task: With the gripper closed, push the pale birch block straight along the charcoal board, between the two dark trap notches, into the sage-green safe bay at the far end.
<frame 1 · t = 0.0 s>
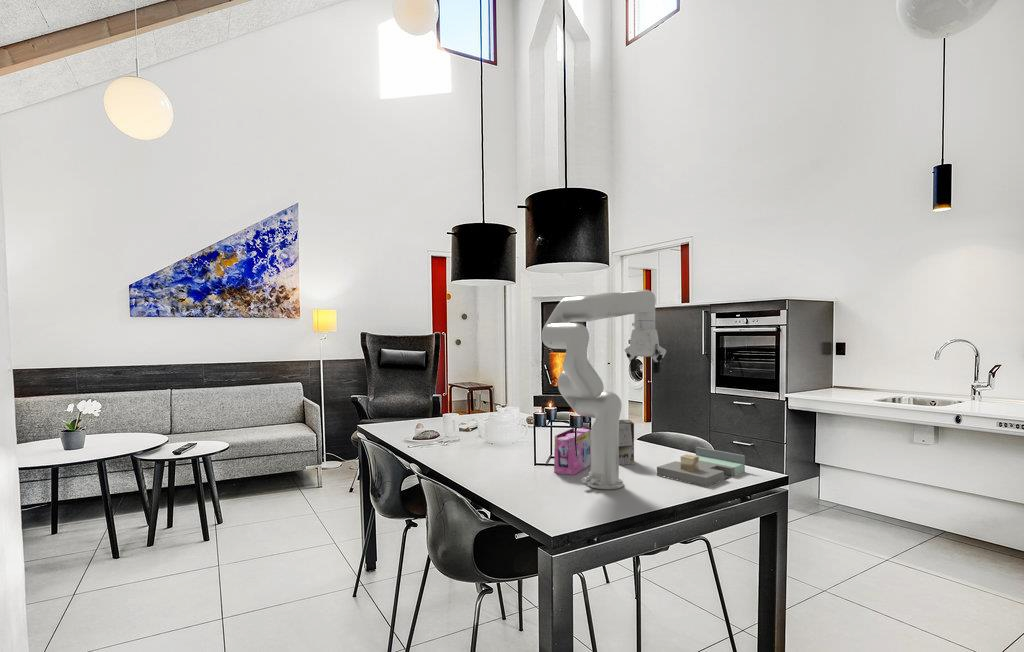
hand: (644, 372, 196), 37 cm above the table, tool pointing down, fingers open, 9 cm apart
gum box: (575, 467, 203), on the table
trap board: (701, 473, 193), on the table
block: (689, 469, 188), point 3 cm above the table, touching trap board
coffee box: (624, 462, 210), on the table
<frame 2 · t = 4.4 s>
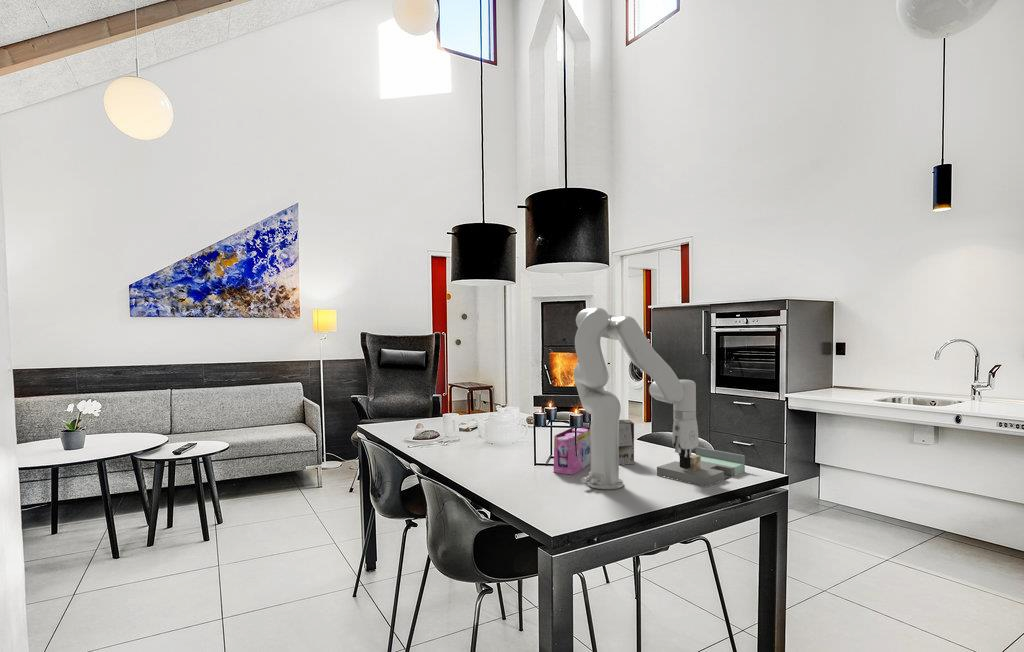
hand: (685, 467, 186), 4 cm above the table, tool pointing down, fingers closed
block: (691, 468, 189), point 3 cm above the table, touching gripper, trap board
everything else where it was.
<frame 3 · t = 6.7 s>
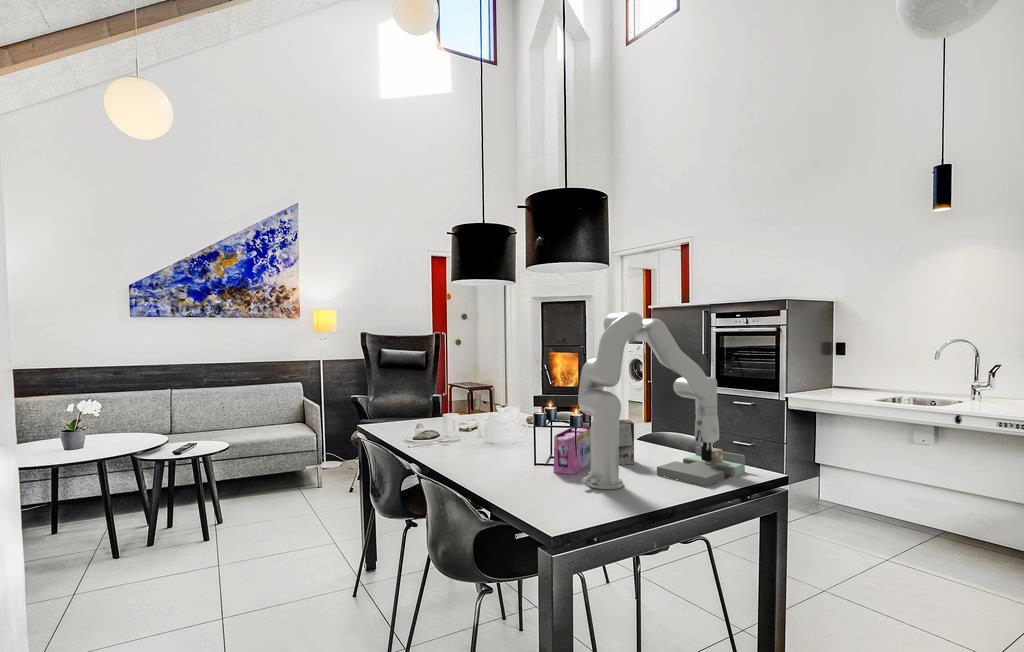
hand: (706, 460, 196), 4 cm above the table, tool pointing down, fingers closed
block: (713, 461, 199), point 3 cm above the table, touching gripper
everything else where it was.
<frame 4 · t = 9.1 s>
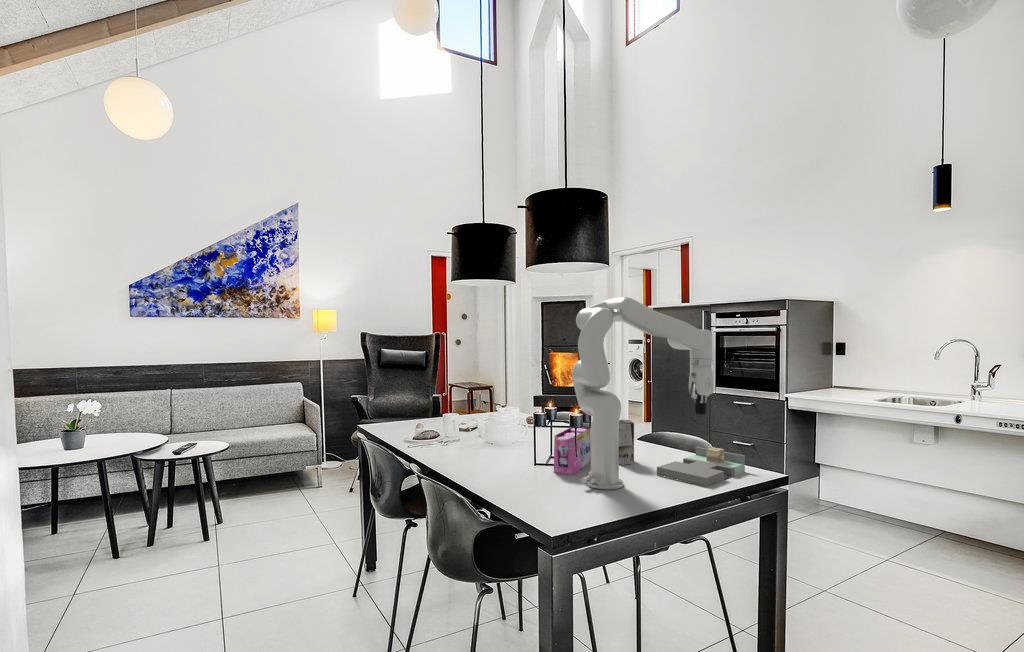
hand: (700, 413, 194), 22 cm above the table, tool pointing down, fingers closed
block: (715, 461, 199), point 3 cm above the table, touching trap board
everything else where it was.
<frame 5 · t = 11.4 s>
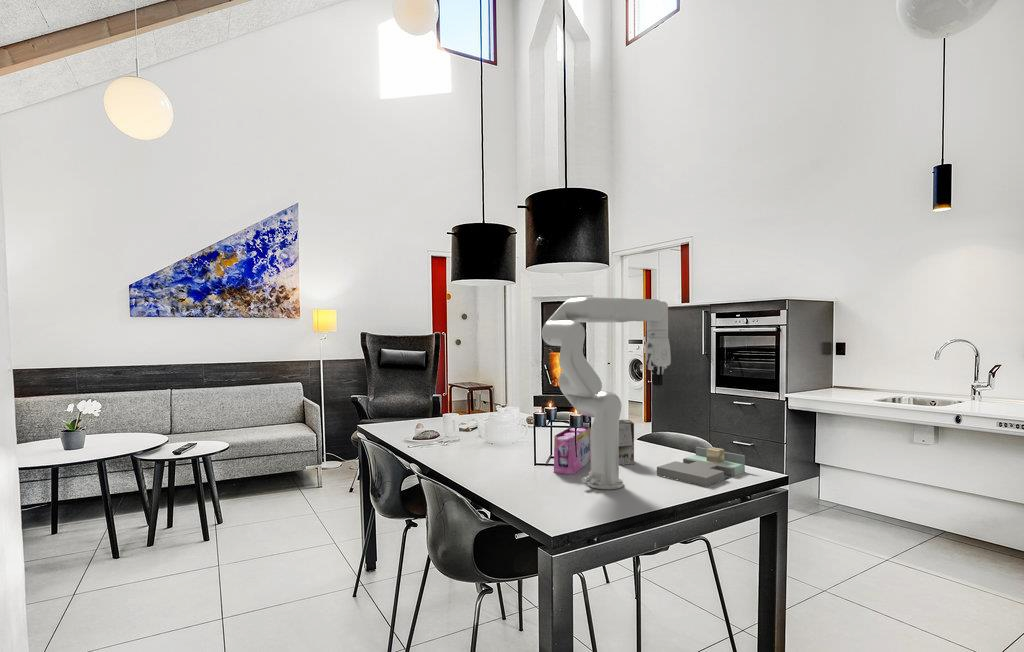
hand: (657, 385, 195), 32 cm above the table, tool pointing down, fingers closed
at the end: block inside the target area on the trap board (0.6 cm from its centre), point 3.0 cm above the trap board's base; block tilted 0° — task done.
